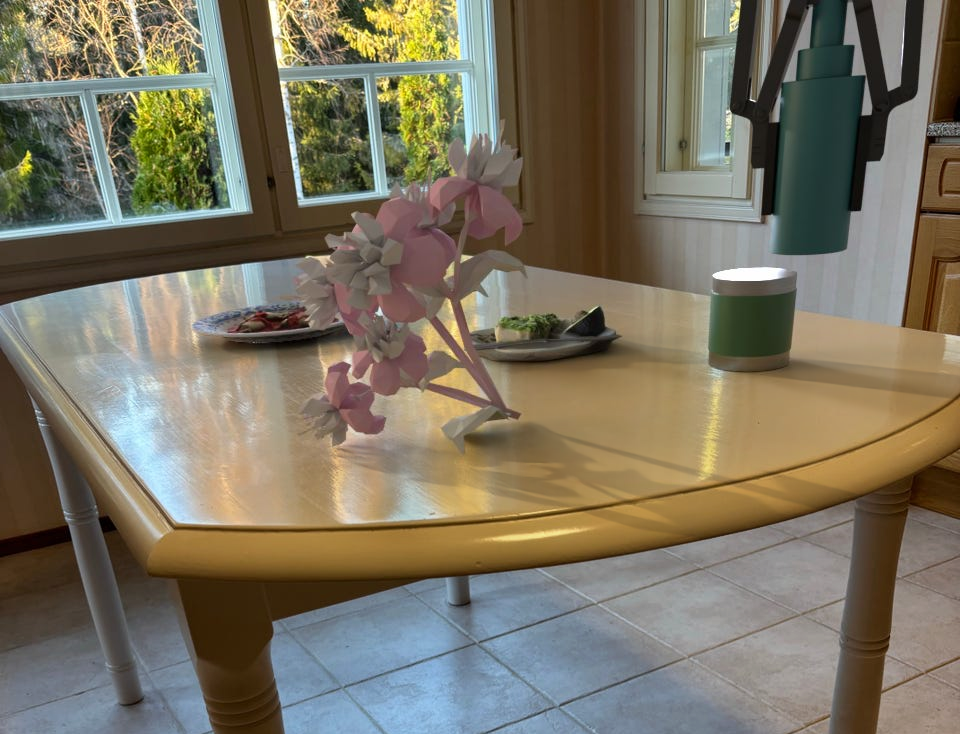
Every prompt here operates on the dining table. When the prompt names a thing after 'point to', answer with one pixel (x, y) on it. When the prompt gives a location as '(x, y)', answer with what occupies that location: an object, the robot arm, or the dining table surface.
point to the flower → (411, 292)
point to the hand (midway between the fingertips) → (811, 211)
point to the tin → (751, 319)
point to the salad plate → (544, 337)
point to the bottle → (818, 141)
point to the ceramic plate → (263, 324)
